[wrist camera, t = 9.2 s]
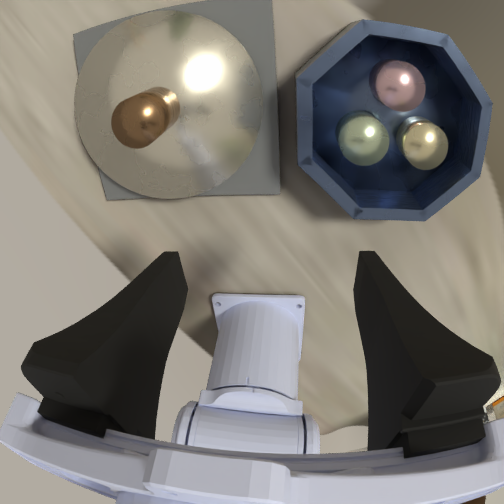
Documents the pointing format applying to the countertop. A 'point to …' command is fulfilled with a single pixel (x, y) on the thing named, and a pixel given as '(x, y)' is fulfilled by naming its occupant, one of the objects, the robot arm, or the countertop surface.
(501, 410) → the supplement box
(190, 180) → the lid
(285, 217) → the countertop surface
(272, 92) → the coaster
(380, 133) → the tin
